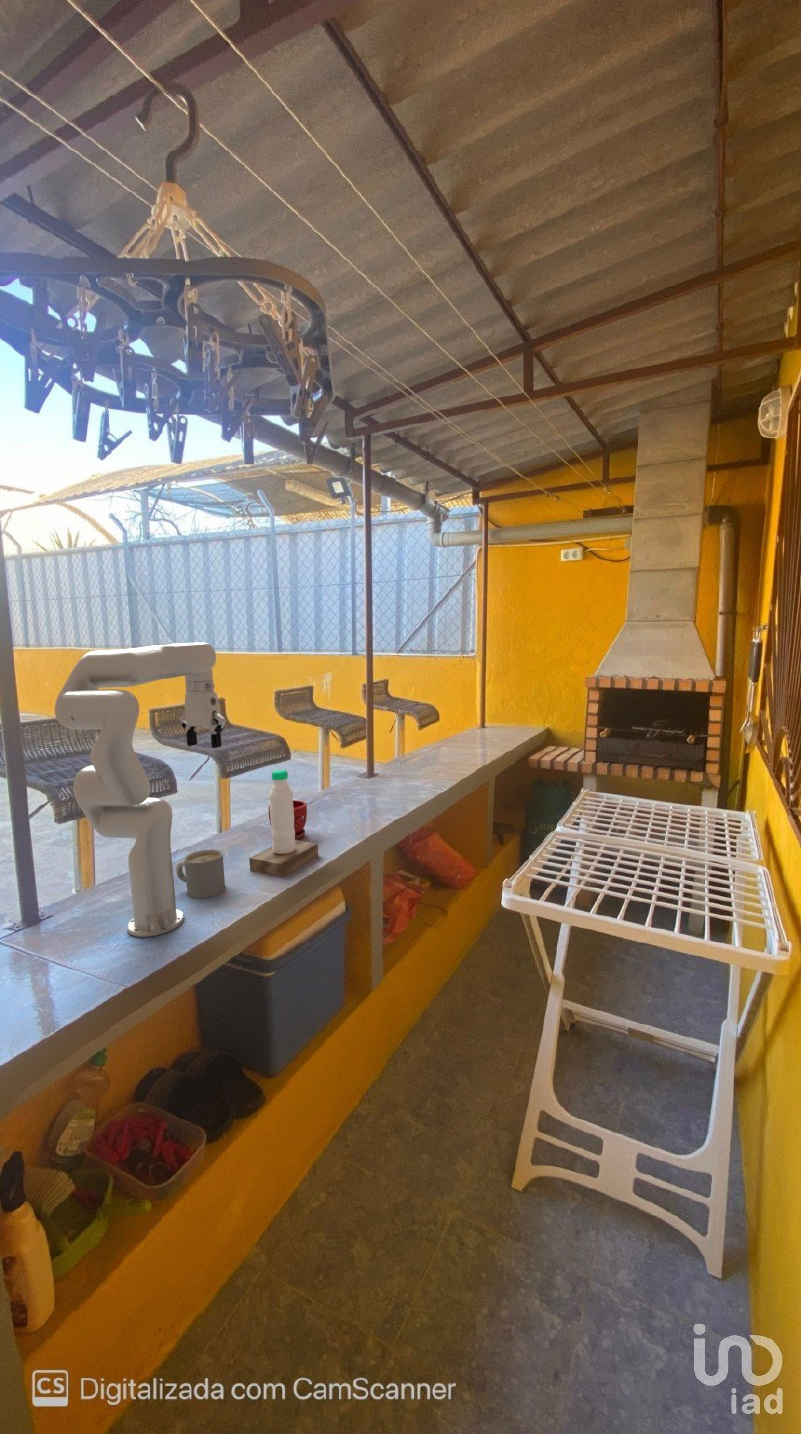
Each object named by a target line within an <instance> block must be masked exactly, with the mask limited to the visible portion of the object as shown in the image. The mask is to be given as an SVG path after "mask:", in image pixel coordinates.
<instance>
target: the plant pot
mask: <svg viewBox="0 0 801 1434" xmlns="http://www.w3.org/2000/svg"><path fill="white" fill-rule="evenodd" d="M292 800H293V799H292ZM293 809H294V829H295V840H299V839H302V838H303V837H304V836H305V834H306V830H305V829H304V828H305V826H306V823H307V818H308V817H307V816H308V815H307V814H308V804H307V803H306V802H305V801H304V800H303V801H302V800H295V799H294V800H293ZM268 819H269V824H270V826H271V818H270V804H269V805H268ZM270 828H272V826H271V827H270ZM271 836H272V833H271Z"/></svg>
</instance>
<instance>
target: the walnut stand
mask: <svg viewBox="0 0 801 1434" xmlns="http://www.w3.org/2000/svg"><path fill="white" fill-rule="evenodd" d="M295 842H296V849H295V850H294V851H293V852H291V853H288V854H276V853H274V852H273V850H272V846H271V847H269V848H266V849H265V850H262V851H260V852H259V853H256V854H255V855H252V856H251V857H249V858H248V859H249V867H250V868H249V870H250V872H254V873H259V874H264V875H269V876H273V875H274V877H278V876H279V877H278V878H283V877H286V875H288V874H290V873H293V871H295V870H297V869H298V868H301V867H302V866H303V865H305V864H307V863H308V861H309V862H311V861H312V860H314V859H316V858H317V857H318V856H319V844H318V843H316V842H311V841H310V842H309V841H303V840H299V839H297V840H295ZM306 862H307V863H306Z"/></svg>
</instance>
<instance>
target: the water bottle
mask: <svg viewBox="0 0 801 1434" xmlns="http://www.w3.org/2000/svg"><path fill="white" fill-rule="evenodd" d="M288 778H289V775H288V771H287V770H282V769H278V770H274V771H272V773H271V781H272V782H273V784H272V786H271V789H270V791H269V794H268V798H269V805H270V818H271V824H270V826H272V827H271V834H272V835H271V841H272V844H271V847H272V850H273V852H274V853H276V854H288V853H291V852H293V851H294V850H295V849H296V842H295V829H294V809H293V797H294V794H293V791H292V788H291V787H290V785H289V784H288V782H287V780H288Z"/></svg>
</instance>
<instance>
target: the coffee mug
mask: <svg viewBox="0 0 801 1434" xmlns="http://www.w3.org/2000/svg"><path fill="white" fill-rule="evenodd" d="M183 867H184V869H185V870H184V871H185V874H184V872H183ZM224 867H225V866H224V855H223V852H222V851H221V850H219V849H200V850H197V851H193V852H192V853H189V854H187V855H186V856H185V857H184V860H181V861H179V862H178V863H177V865H176V875H177V878H178V879H179V880H180V881H181V882H184V883H186V893H187V896H188V897H189V898H192V899H207V898H213V897H215V896H218V895H220V894H222V893H223V892H225V890H226V881H225V868H224Z"/></svg>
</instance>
